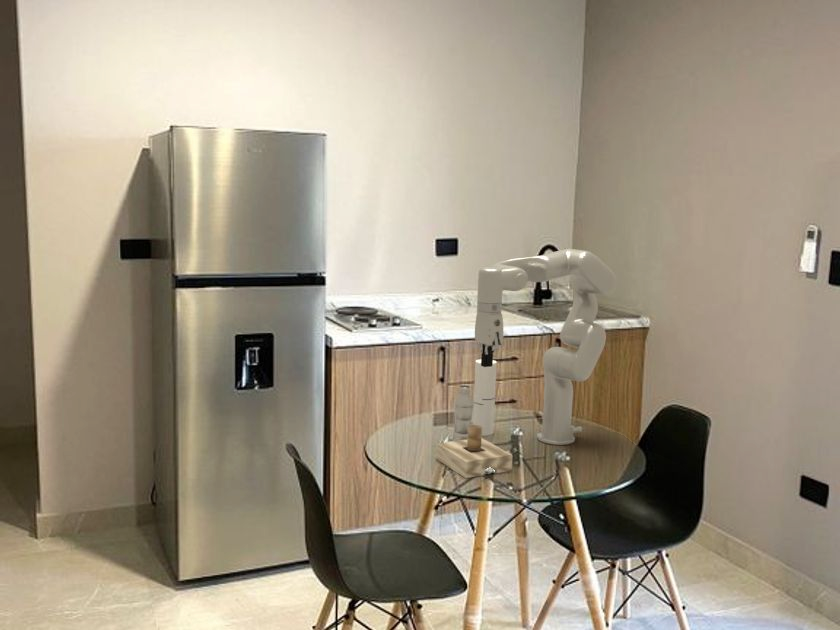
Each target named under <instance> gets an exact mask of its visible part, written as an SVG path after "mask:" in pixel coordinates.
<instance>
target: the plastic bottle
mask: <svg viewBox="0 0 840 630" xmlns="http://www.w3.org/2000/svg"><path fill="white" fill-rule="evenodd" d="M458 392H459V393H458V394H457V396H455V399H454V401H453V402H454V413H455V417H454V418H455V420H454V421H455V423H454V430H453V433H452V434H453V435H452V441H460V440H467V439H468V426H470V425H472V420H473V410H474V398H473V396H471V394H470V393H471V386H470V385H466V384H461V385H459V387H458Z"/></svg>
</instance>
